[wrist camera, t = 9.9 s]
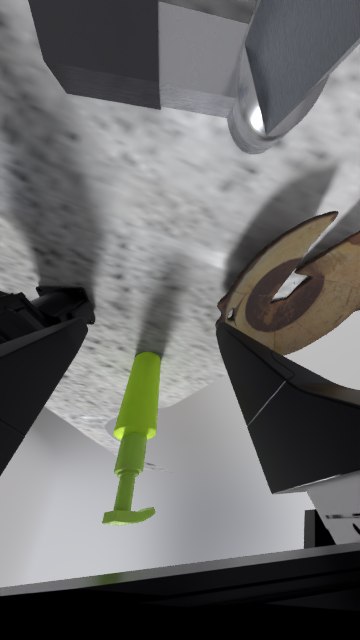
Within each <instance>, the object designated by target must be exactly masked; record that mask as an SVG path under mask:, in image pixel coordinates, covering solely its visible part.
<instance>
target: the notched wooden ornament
mask: <svg viewBox="0 0 360 640" xmlns="http://www.w3.org/2000/svg"><path fill="white" fill-rule="evenodd" d="M337 215H338V211H332V212H328V213H325V214H322V215H318V216H315V217H313V218H311V219H308V220H306V221H304V222H302V223H300V224H299V225H297V226H295V227H293V228H292V229H290V230H288V231H286V232H285V233H283V234H282V235H280V236H279V237H277V238H276V239H275V240H273V241H272V242H271V243H270V244H269V245H268V246H266V247H265V248H264V249H263V250H262V251H261V252H260V253H259V254H258V255H256V256H255V258H253V260H252V261H251V262H250V263H249V264H248V265H247V266H246V267H245V268H244V270H243V271H242V272H241V273H240V274H239V276H238V277H237V279H236V280H235V282H234V283H233V285H232V287H231V289H230V290H229V292H228V293H227V294H226V295H225V296H224V297H223V298H222V299H221V300H220V301H219V302H218V305H217V307H218V309H219V310H220V311H221V316H220V318H219V319H218V320H217V322H216V325H215V326H216V329H217V326H218V323H219V322H226V323H228V324H229V325H231V326H233V327H234V328H236V329H238V330H240V331H241V332H243V333H245V334H246V335H248V336H250V337H251V338H253V339H255V340H256V341H258V342H260V343H262V344H263V345H265V346H267V347H268V348H270V350H271V349H272V350H274V351H275V352H277V353H279V354H280V355H282V356H283V355H287V354H290V353H292V352H295V351H298V350H300V349H302V348H303V347H306V346H307V345H309V344H311V343H313V342H314V341H316V340H318V339H319V338H321V337H322V336H324V335H326V334H327V333H329V332H330V331H332V330H333V329H334V328H336V327H337V326H338V325H340V324H341V323H342V322H343V321H344V320H345V319H347V317H349V316H350V315H351V314H352V313H353V312H355V311H358V310H360V231H359V232H357V233H355V234H353V235H351V236H349V237H348V238H346V239H344V240H343V241H341V242H340V243H338V244H336V245H334V246H332V247H331V248H329V249H327V250H326V251H324V252H323V253H320V254H319V255H318V256H316V257H314V259H312V260H310V261H308V262H306V263H305V264H304V265H303V266H301V267H299V268H298V269H297V270H296V271H295V273H296V274H300V275H307V276H310V278H309V279H308V280H306V281H305V282H303V283H302V284H301V285H300V286H299V287H297V288H296V289H295V290H294V291H293V292H292V293H291V295H289V296H288V297H287V298H285V299H280V300H278V301H273V302H271V300H272V298H273V297H274V295H275V294H276V293H277V292H278V290H279V289H280V287H281V286H282V285H283V283H284V282H285V281H286V280H287V278H288V277H289V276H290V275H291V273H292V272H293V271H294V270H295V268H296V266H297V265H298V264H299V262H300V261H301V259H302V258H303V256H304V255H305V254H306V252H307V251H308V249H309V247H310V246H311V245H312V244H313V243H314V242H315V241H316V240H317V239H318V237H319V236H320V234H321V233H322V232H323V231H324V230H325V229H326V228H327V227H328V226H329V225H330V224H331V223H332V222H333V221H334V220H335V218H336V217H337ZM294 284H295V282H294ZM232 309H233V314H232V316H231V317H230V318H228V315H229V312H230V311H231V310H232Z"/></svg>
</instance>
